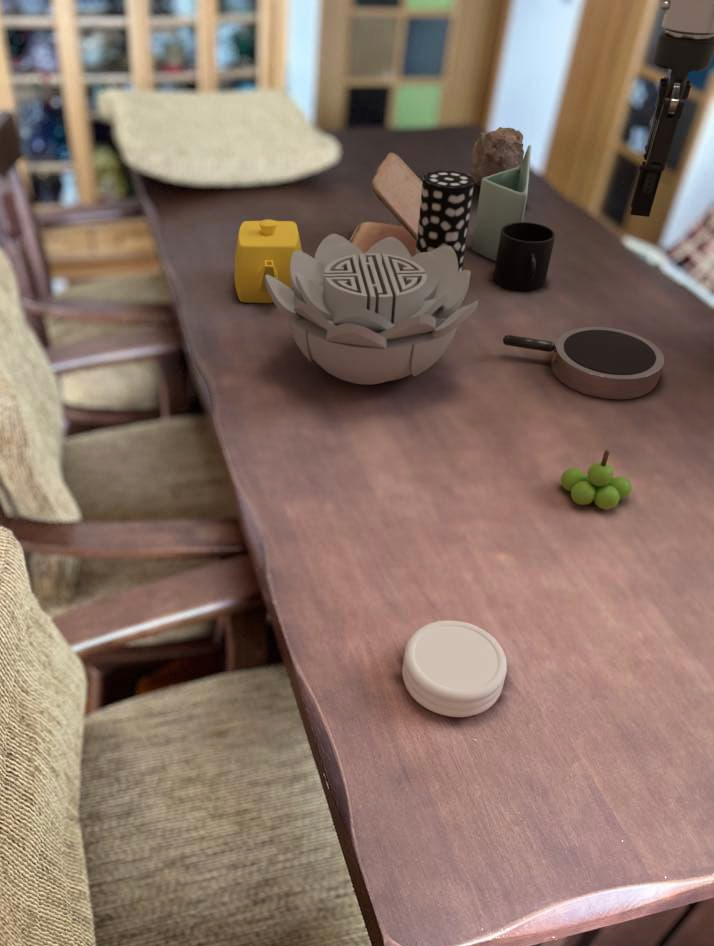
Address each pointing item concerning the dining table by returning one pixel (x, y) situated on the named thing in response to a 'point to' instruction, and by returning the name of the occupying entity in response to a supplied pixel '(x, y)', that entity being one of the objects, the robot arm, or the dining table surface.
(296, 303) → the decorative bowl
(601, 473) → the grapes
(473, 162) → the stone
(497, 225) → the green magazine holder
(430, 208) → the spotted tube
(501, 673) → the round cream tin
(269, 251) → the teapot
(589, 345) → the pan
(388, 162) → the case
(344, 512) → the dining table surface
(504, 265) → the mug
